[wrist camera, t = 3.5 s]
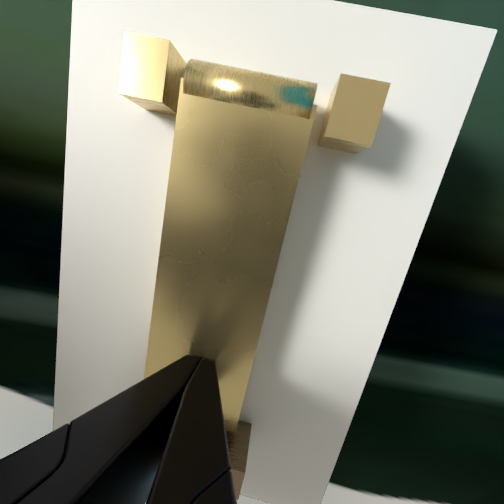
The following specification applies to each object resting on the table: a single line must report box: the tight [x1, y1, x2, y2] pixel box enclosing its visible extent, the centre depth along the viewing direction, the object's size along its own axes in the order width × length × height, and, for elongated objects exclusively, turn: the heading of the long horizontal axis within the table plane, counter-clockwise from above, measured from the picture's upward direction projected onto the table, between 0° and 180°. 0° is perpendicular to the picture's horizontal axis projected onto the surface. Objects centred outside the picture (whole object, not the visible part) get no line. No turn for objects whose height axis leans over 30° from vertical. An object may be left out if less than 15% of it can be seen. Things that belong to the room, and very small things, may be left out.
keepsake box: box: [53, 0, 497, 504], centre depth 10 cm, size 15×10×7 cm
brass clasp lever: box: [144, 59, 318, 432], centre depth 7 cm, size 10×3×1 cm, turn 167°
